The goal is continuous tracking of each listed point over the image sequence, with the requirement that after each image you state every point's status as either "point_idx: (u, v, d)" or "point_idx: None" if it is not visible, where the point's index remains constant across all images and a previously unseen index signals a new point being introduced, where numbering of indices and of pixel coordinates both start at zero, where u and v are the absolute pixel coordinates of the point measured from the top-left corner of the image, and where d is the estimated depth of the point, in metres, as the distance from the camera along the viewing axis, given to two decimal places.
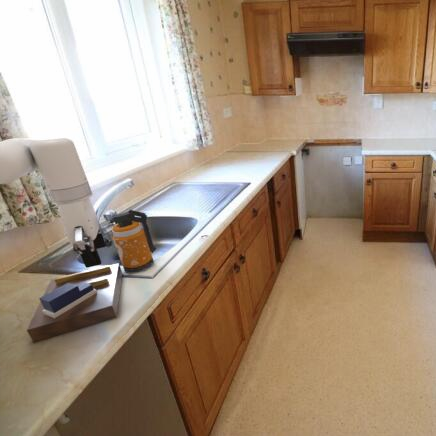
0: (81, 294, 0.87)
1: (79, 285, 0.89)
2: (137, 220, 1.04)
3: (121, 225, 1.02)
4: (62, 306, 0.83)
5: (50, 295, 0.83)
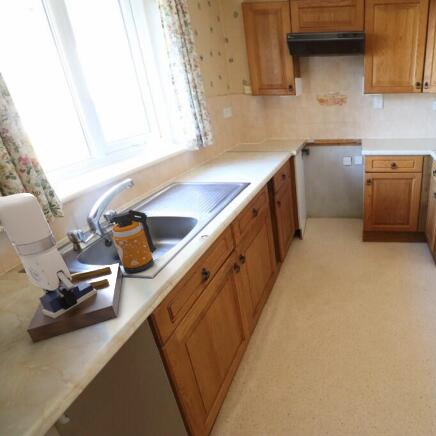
0: (81, 294, 0.87)
1: (79, 285, 0.89)
2: (137, 220, 1.04)
3: (121, 225, 1.02)
4: None
5: (50, 295, 0.83)
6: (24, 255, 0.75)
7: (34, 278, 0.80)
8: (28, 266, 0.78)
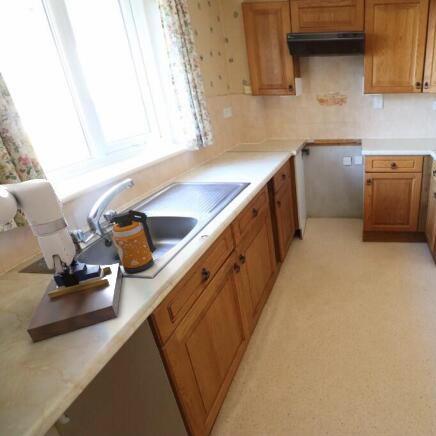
0: (86, 277, 0.94)
1: (93, 268, 0.96)
2: (137, 220, 1.04)
3: (121, 225, 1.02)
4: None
5: None
6: (33, 233, 0.85)
7: None
8: None
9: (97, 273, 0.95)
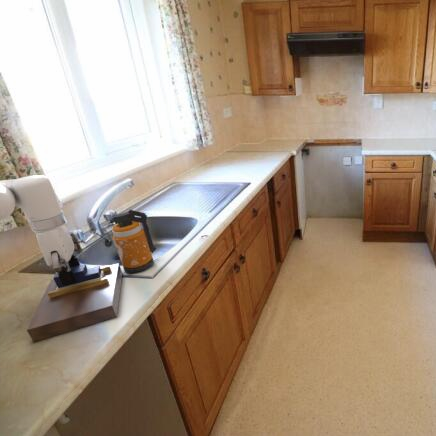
0: (87, 278, 0.94)
1: (93, 269, 0.96)
2: (137, 220, 1.04)
3: (121, 225, 1.02)
4: None
5: None
6: (32, 229, 0.84)
7: None
8: None
9: (97, 274, 0.95)
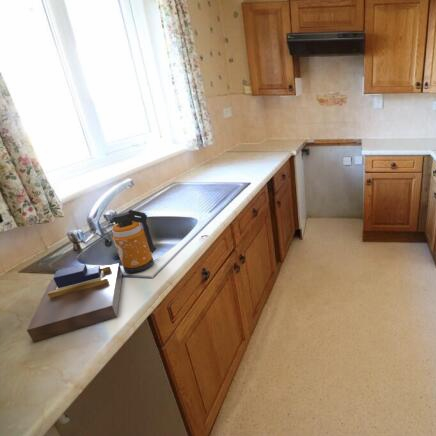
0: (87, 278, 0.94)
1: (93, 269, 0.96)
2: (137, 220, 1.04)
3: (121, 225, 1.02)
4: (66, 284, 0.92)
5: (63, 271, 0.93)
6: None
7: None
8: None
9: (97, 274, 0.95)
